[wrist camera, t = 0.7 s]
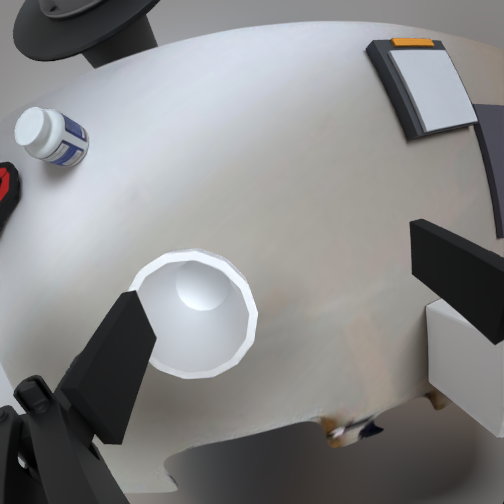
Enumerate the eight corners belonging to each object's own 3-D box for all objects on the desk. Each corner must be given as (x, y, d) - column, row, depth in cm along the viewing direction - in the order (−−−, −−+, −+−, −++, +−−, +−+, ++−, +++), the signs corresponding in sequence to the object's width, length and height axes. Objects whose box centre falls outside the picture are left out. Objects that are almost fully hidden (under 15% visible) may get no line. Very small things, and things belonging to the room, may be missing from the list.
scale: (365, 48, 32) (375, 37, 28) (432, 46, 32) (443, 38, 29) (407, 140, 33) (421, 134, 30) (469, 126, 34) (482, 121, 31)
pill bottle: (60, 125, 30) (17, 101, 20) (94, 125, 30) (55, 98, 20) (50, 166, 30) (3, 153, 20) (84, 169, 31) (40, 153, 21)
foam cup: (150, 255, 32) (105, 275, 19) (229, 228, 33) (230, 231, 20) (179, 333, 33) (156, 391, 20) (256, 309, 34) (273, 358, 21)
